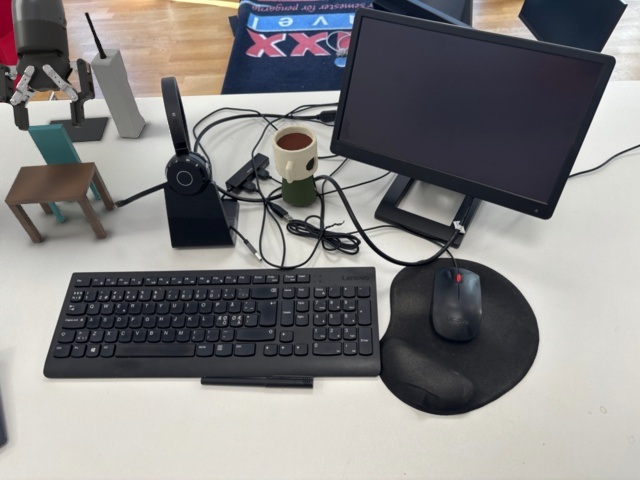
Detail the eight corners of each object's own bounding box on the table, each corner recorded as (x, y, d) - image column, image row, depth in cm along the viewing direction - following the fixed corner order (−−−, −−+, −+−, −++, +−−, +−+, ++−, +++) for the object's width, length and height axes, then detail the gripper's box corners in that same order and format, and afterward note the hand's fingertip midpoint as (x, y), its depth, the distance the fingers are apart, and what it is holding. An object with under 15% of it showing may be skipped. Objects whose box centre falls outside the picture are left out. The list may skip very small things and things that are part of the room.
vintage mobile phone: (146, 123, 108) (103, 3, 89) (138, 138, 105) (92, 17, 86) (129, 123, 108) (82, 3, 89) (120, 138, 105) (70, 17, 86)
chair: (101, 196, 94) (65, 123, 82) (93, 220, 90) (54, 147, 78) (68, 198, 94) (27, 125, 82) (59, 222, 90) (14, 150, 78)
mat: (40, 144, 105) (40, 143, 105) (51, 121, 110) (51, 120, 110) (100, 140, 105) (99, 139, 105) (108, 118, 110) (107, 116, 110)
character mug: (313, 221, 88) (309, 162, 78) (273, 216, 89) (264, 158, 79) (324, 177, 95) (322, 118, 85) (287, 174, 96) (280, 115, 86)
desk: (33, 243, 87) (4, 200, 80) (47, 209, 92) (21, 166, 85) (105, 238, 87) (82, 195, 80) (115, 204, 92) (94, 161, 85)
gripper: (-20, 20, 78) (-8, 128, 80) (74, 14, 79) (84, 122, 80) (9, 36, 86) (19, 134, 87) (95, 30, 86) (104, 129, 87)
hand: (50, 128), depth 83 cm, fingers open, 8 cm apart
